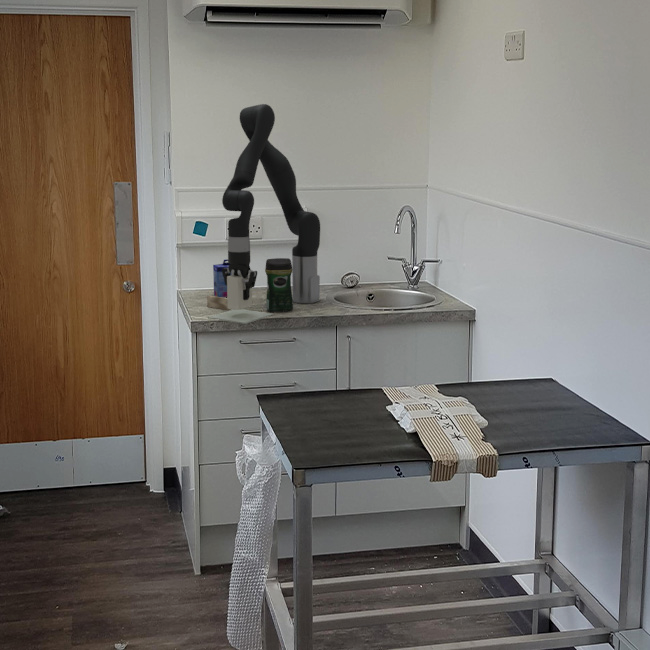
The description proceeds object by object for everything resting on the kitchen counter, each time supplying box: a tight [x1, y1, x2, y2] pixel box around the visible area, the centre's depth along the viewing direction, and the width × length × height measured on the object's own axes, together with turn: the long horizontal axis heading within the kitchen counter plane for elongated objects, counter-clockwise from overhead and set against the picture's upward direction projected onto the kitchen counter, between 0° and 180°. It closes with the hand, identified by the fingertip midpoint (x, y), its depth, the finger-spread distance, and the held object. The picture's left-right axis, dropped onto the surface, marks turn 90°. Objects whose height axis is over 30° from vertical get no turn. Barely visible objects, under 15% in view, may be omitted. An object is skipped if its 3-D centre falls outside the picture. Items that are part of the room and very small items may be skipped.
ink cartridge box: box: [212, 258, 231, 298], centre depth 359 cm, size 10×6×14 cm, turn 115°
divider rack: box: [206, 295, 232, 311], centre depth 344 cm, size 10×13×4 cm
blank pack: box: [227, 274, 253, 310], centre depth 324 cm, size 4×8×11 cm, turn 148°
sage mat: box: [207, 308, 274, 325], centre depth 326 cm, size 16×16×1 cm
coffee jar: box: [264, 257, 294, 313], centre depth 334 cm, size 10×8×19 cm
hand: (239, 298), depth 324 cm, fingers closed on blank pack, 4 cm apart
